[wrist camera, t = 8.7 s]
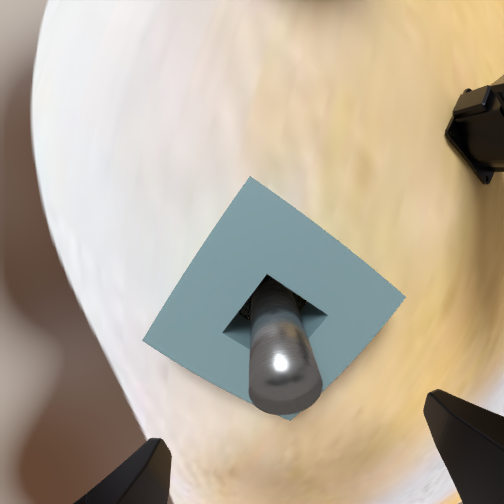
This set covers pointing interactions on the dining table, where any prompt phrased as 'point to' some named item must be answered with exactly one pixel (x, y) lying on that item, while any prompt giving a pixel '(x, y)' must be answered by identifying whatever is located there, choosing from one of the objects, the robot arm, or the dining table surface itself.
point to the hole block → (249, 277)
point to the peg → (280, 353)
